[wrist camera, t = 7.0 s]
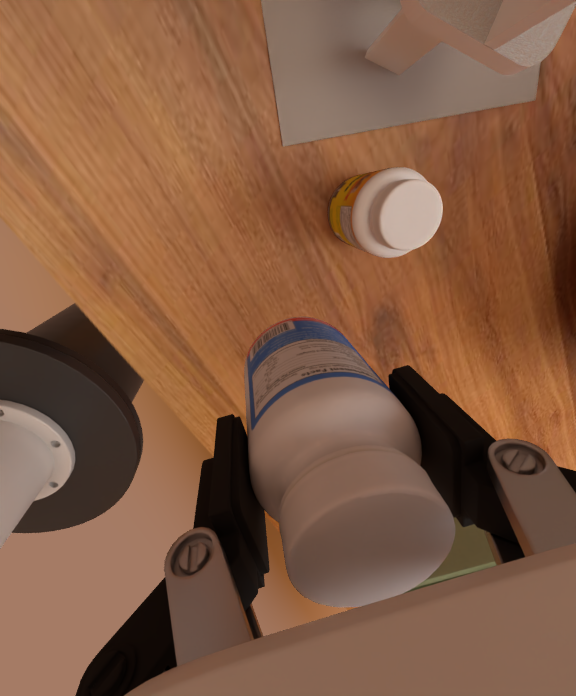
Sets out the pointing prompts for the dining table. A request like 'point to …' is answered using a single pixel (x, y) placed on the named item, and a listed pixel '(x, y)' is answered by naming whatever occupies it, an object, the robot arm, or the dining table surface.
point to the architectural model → (403, 59)
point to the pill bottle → (339, 468)
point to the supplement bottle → (386, 211)
